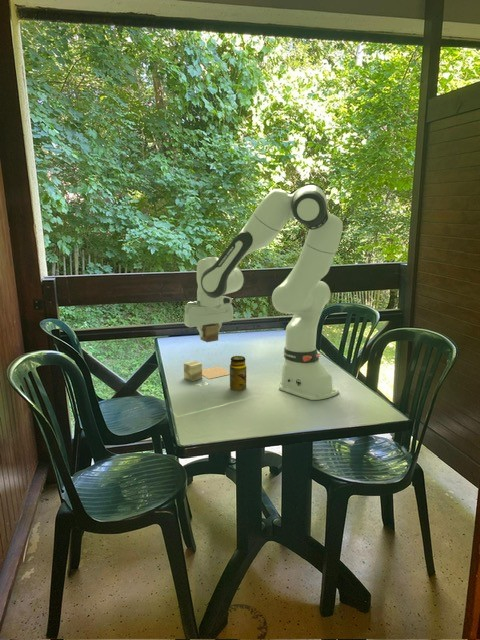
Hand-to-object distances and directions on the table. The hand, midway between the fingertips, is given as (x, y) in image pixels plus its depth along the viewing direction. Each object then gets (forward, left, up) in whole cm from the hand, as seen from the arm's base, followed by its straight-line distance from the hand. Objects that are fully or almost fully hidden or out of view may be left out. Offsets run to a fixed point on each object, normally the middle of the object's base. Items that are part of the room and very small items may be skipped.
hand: (209, 335), depth 167 cm
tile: (-6, +6, -17) cm, 19 cm away
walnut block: (0, 0, -2) cm, 2 cm away
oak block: (+2, +6, -17) cm, 18 cm away
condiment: (-16, -2, -17) cm, 24 cm away
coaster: (+3, -4, -17) cm, 18 cm away
